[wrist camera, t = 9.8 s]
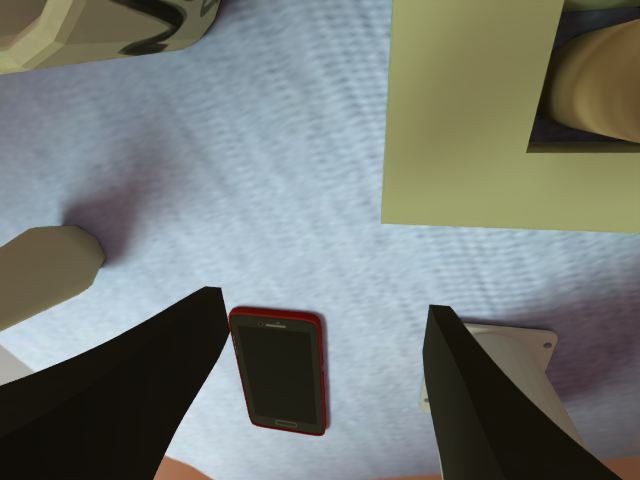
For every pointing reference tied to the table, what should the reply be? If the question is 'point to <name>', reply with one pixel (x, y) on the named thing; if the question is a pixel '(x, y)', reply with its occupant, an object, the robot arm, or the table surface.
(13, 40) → the mug
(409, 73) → the hole board
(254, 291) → the table surface
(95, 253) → the salt shaker
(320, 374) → the cell phone
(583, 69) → the tall peg
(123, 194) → the table surface
